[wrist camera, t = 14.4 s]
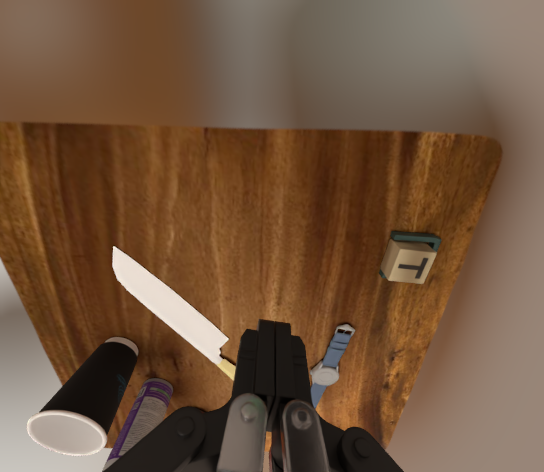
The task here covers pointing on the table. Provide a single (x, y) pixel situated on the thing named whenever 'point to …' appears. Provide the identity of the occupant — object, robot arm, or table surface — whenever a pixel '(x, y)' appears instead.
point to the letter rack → (422, 237)
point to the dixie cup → (86, 402)
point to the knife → (171, 309)
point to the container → (142, 416)
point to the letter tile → (407, 261)
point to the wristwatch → (329, 364)
